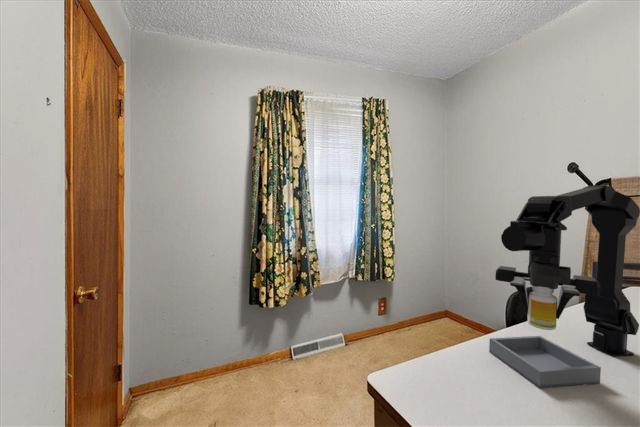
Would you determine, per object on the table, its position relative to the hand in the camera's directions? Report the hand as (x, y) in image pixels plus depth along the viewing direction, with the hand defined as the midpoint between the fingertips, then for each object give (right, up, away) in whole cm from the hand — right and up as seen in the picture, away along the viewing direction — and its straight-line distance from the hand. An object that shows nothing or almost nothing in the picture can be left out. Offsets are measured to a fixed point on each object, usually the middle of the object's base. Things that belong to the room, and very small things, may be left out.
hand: (541, 315), depth 67 cm
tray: (0, -12, 0) cm, 12 cm away
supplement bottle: (0, -3, 0) cm, 3 cm away
